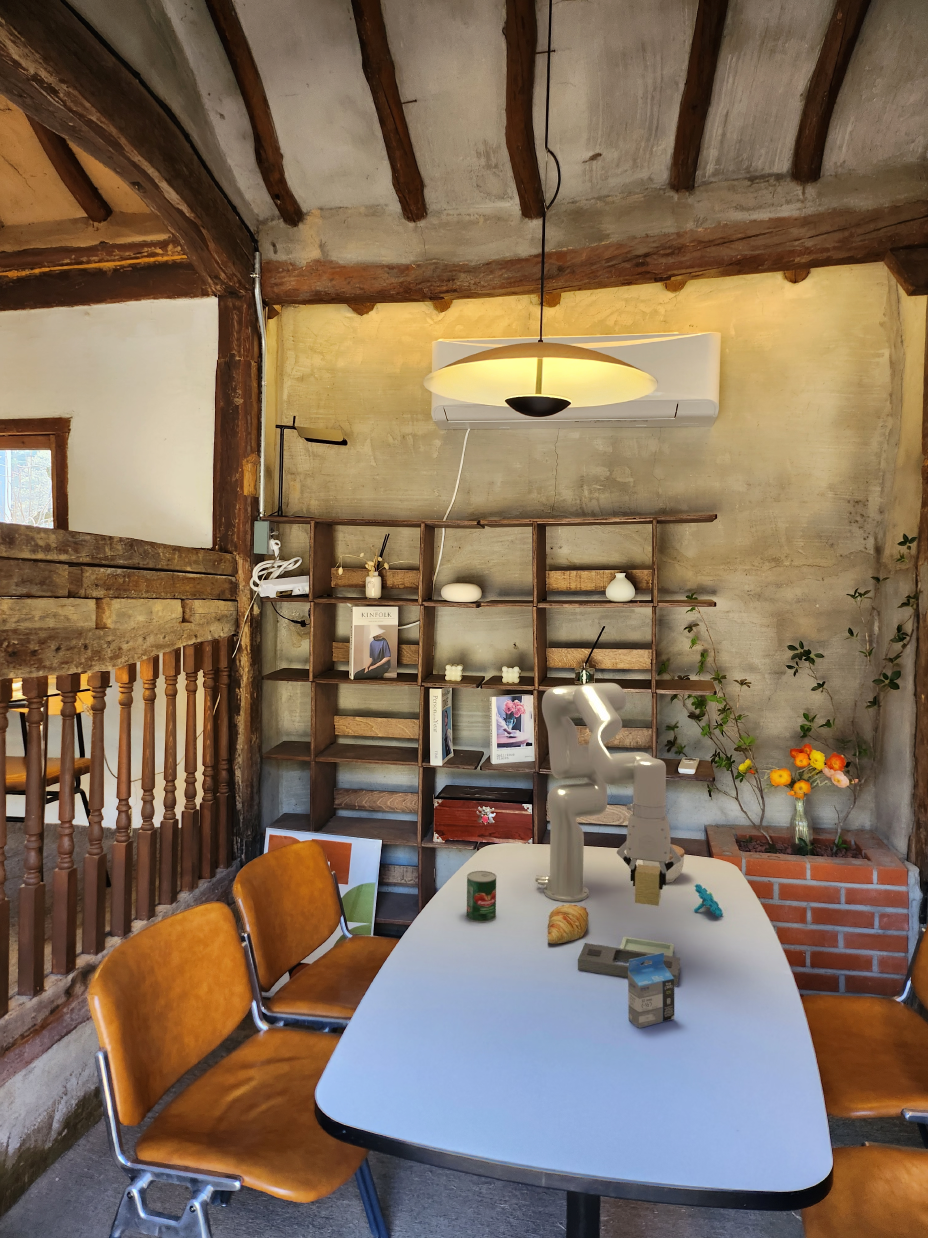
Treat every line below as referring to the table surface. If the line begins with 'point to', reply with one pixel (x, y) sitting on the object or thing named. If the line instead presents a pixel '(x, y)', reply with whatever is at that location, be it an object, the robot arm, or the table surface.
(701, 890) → the gear
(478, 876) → the canned tomato
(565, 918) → the croissant
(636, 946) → the tray
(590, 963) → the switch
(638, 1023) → the label tape box
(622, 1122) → the table surface
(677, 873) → the lidded bowl
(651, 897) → the wooden block
